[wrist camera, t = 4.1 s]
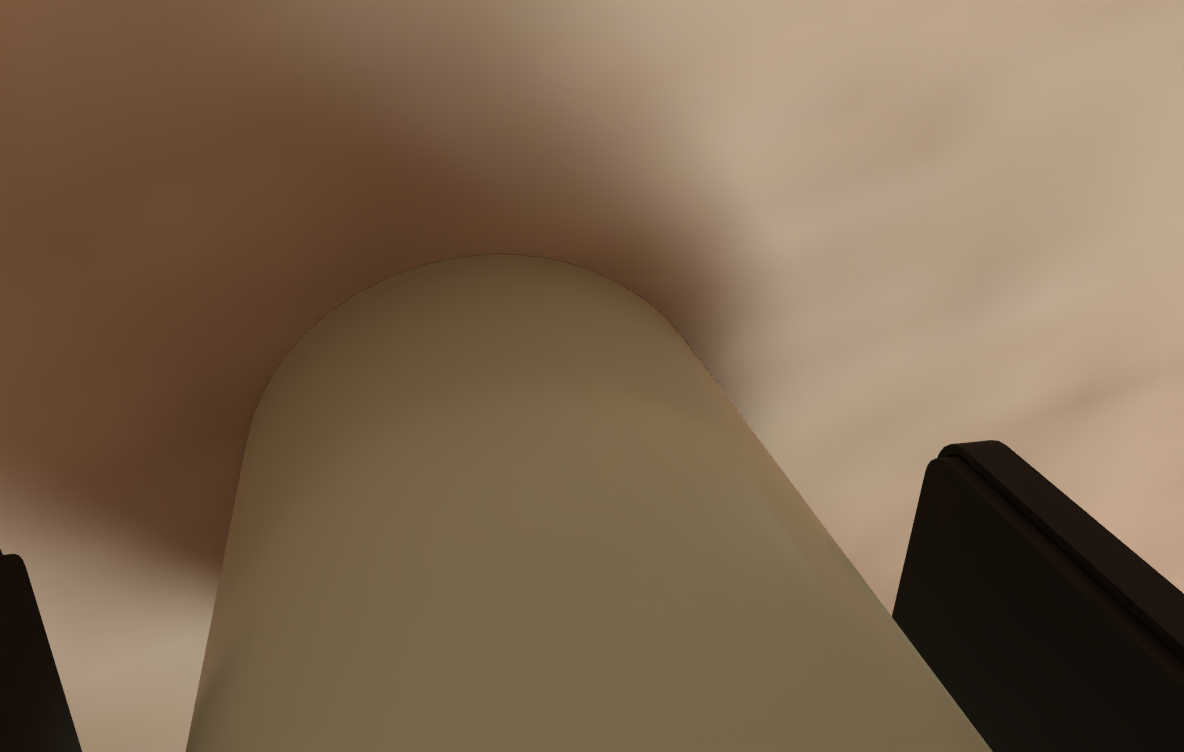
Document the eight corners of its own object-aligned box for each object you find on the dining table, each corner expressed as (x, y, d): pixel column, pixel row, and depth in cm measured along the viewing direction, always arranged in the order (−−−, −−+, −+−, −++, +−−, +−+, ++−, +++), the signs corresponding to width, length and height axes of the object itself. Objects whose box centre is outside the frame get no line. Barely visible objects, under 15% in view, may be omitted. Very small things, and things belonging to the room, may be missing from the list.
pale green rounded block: (206, 267, 10) (-139, 1141, 3) (737, 243, 11) (1372, 815, 4) (275, 684, 13) (181, 1652, 6) (696, 626, 14) (1038, 1356, 7)
